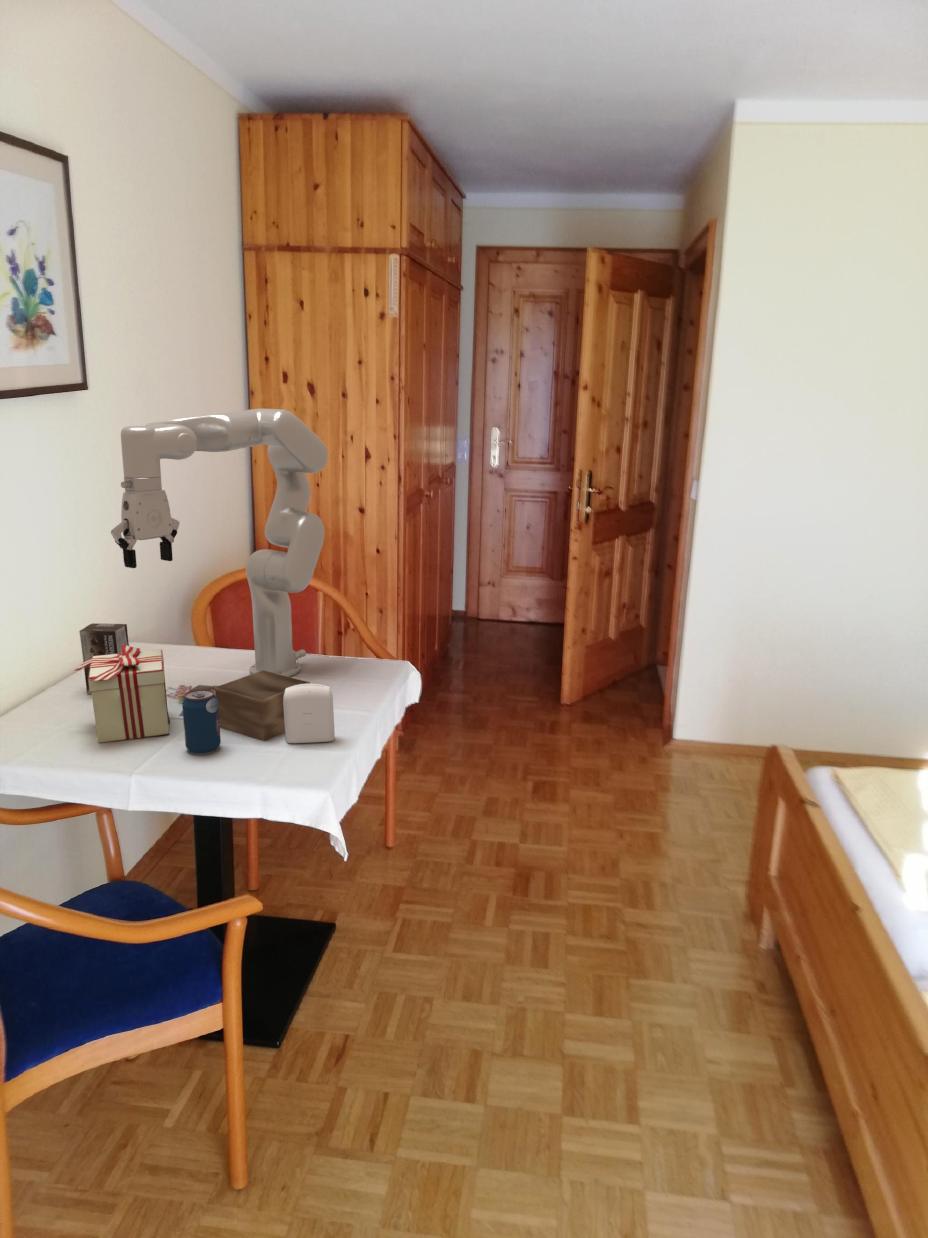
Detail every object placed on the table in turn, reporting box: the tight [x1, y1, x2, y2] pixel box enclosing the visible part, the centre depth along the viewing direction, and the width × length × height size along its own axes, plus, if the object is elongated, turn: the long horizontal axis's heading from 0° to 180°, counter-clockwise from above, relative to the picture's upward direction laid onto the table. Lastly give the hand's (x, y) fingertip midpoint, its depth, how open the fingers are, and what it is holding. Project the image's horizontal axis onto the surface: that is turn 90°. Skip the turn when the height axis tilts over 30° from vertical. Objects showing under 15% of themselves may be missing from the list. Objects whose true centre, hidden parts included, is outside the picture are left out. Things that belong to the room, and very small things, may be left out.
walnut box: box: [213, 670, 311, 742], centre depth 203 cm, size 14×14×9 cm
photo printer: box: [283, 683, 336, 744], centre depth 193 cm, size 10×4×12 cm, turn 96°
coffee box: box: [79, 623, 130, 696], centre depth 222 cm, size 9×6×16 cm
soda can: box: [181, 688, 222, 756], centre depth 189 cm, size 7×7×12 cm
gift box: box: [73, 645, 171, 744], centre depth 198 cm, size 17×18×17 cm
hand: (149, 563), depth 203 cm, fingers open, 9 cm apart
